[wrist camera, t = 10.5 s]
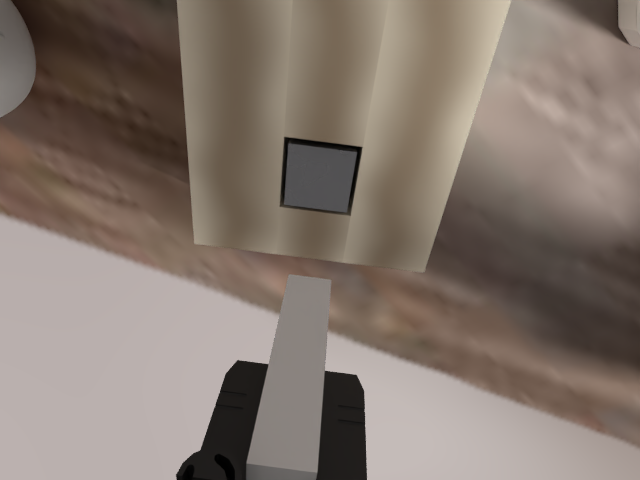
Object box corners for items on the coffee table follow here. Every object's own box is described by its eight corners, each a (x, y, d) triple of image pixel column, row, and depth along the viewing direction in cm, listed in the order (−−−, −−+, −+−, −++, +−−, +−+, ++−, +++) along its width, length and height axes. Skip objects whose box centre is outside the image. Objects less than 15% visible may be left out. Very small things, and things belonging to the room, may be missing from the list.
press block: (519, -178, 20) (590, -248, 14) (410, 222, 33) (423, 272, 27) (211, -220, 20) (154, -309, 14) (221, 198, 33) (194, 243, 27)
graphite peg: (355, 123, 28) (357, 152, 23) (346, 175, 30) (346, 212, 25) (299, 115, 28) (288, 143, 23) (294, 168, 30) (284, 204, 25)
